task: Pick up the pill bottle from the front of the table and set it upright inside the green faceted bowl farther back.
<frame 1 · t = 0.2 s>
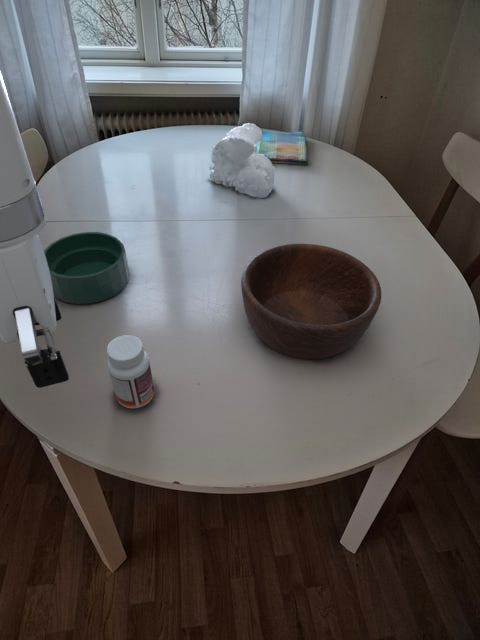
hand: (50, 349, 48), 22 cm above the table, tool pointing down, fingers open, 9 cm apart
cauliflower: (241, 185, 126), on the table
green faceted bowl: (90, 280, 91), on the table
colourful book: (281, 150, 146), on the table
pill bottle: (135, 395, 70), on the table
wooden bowl: (303, 323, 84), on the table
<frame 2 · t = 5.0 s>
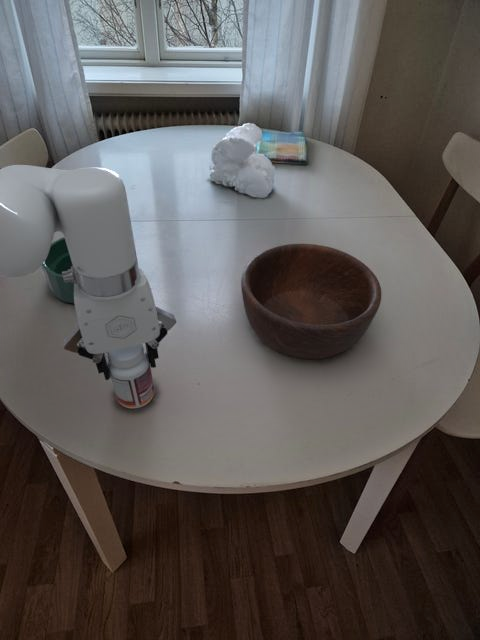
hand: (129, 366, 65), 7 cm above the table, tool pointing down, fingers closed on pill bottle, 6 cm apart
pill bottle: (135, 395, 70), on the table, touching gripper
everything else where it was.
when the fingers open (8 cm above the table, at t = 13.7 s): pill bottle stays where it is, resting on green faceted bowl.
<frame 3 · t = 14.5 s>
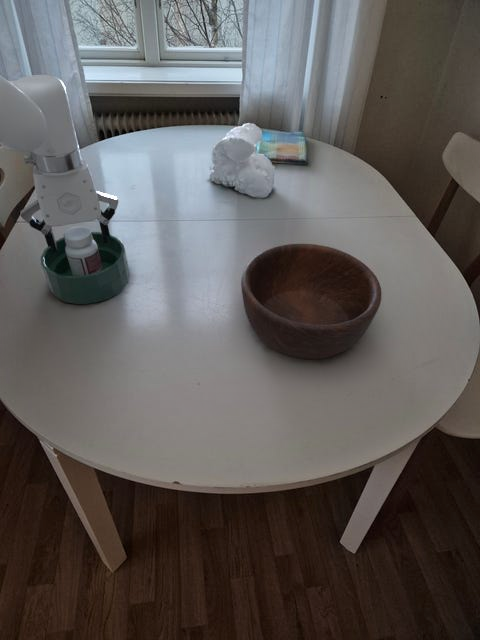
hand: (80, 243, 85), 9 cm above the table, tool pointing down, fingers open, 9 cm apart
pill bottle: (90, 279, 91), resting on green faceted bowl
everything else where it was.
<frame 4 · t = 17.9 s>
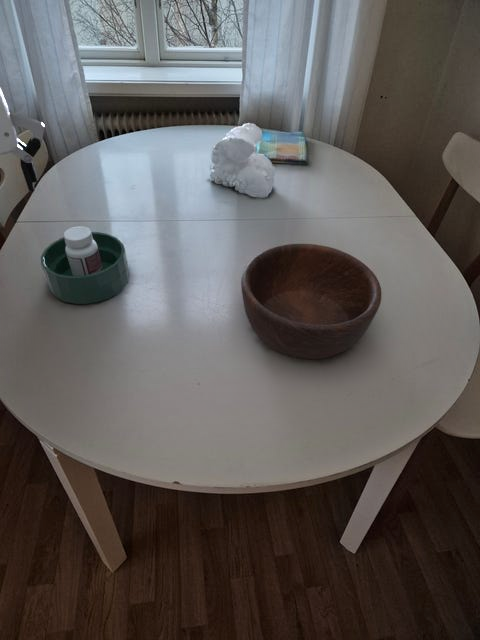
nothing on the table moved.
at the end: pill bottle inside the target area in the green faceted bowl (0.1 cm from its centre), point 0.3 cm above the green faceted bowl's base; pill bottle tilted 0°; the gripper is holding nothing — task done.
